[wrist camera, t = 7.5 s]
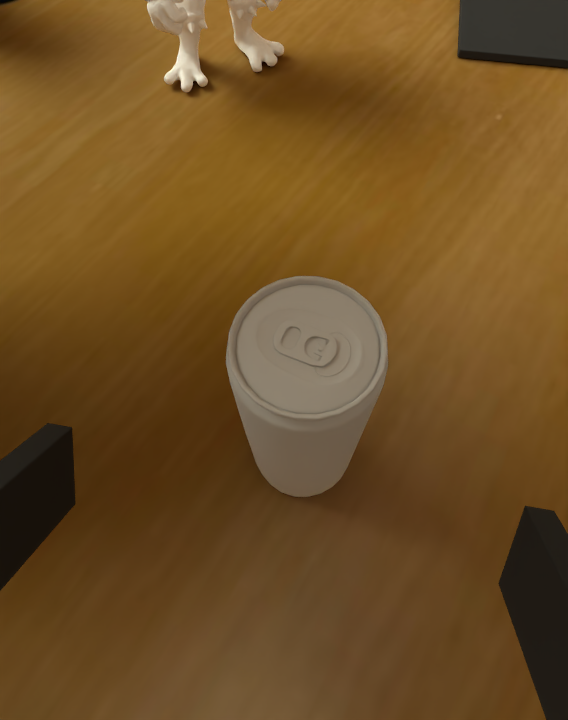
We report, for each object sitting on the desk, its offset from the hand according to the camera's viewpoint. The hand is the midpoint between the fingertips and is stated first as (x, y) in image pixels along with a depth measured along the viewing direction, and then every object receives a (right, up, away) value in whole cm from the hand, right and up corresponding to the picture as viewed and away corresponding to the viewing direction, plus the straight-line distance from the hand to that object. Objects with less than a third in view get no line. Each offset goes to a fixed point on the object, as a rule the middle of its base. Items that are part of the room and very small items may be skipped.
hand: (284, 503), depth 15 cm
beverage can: (+1, 0, +11) cm, 11 cm away
